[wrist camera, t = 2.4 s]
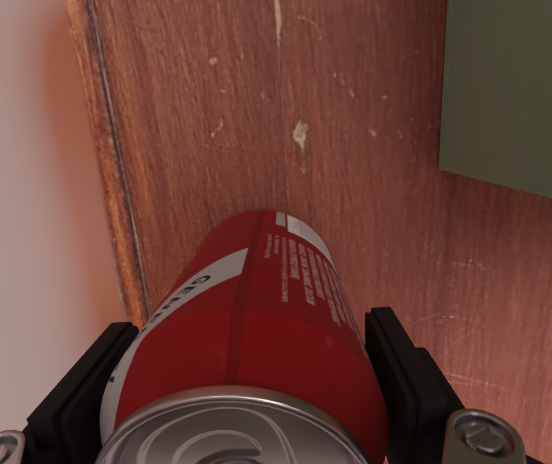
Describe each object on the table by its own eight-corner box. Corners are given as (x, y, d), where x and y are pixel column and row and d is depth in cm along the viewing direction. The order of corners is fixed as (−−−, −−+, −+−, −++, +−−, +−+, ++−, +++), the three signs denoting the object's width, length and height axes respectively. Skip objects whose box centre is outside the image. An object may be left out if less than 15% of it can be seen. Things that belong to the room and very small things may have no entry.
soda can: (297, 182, 17) (330, 299, 5) (351, 299, 18) (466, 583, 7) (174, 239, 18) (-28, 447, 6) (236, 346, 19) (169, 666, 8)
